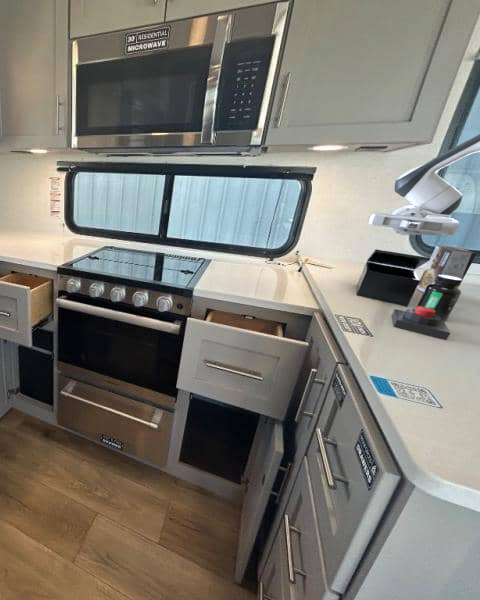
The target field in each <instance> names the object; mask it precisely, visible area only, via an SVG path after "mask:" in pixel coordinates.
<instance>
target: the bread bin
mask: <svg viewBox="0 0 480 600" xmlns="http://www.w3.org/2000/svg"><path fill="white" fill-rule="evenodd" d="M419 282H420V278H419V276H418V274H417V272H416V269H415V270H414V269H408V268H402V267H397V266H391V265H385V264H380V263H374V262H368V261H366V262H365V264H364V267H363V269H362V272H361V274H360V277H359V279H358V281H357V284H356V295H355V296H358V297H362V298H366V299H371V300H375V301H380V302H383V303H388V304H393V305H397V306H401V307H406V308H407V307H408V306H409V304H410V302H411V300H412V298H413V296H414V294H415V292H416V290H417V286H418V284H419Z"/></svg>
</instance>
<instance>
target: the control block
mask: <svg viewBox="0 0 480 600" xmlns="http://www.w3.org/2000/svg"><path fill="white" fill-rule="evenodd" d="M415 309H416V308H407V309H406V310H405V311H404V310H401V309H397V308H394V309H393V311H392V312H391V313H392V314H391V320H392V327H393V328H397V329H400V330H405V331H408V332H411V333H416V334H420V335H423V336H428V337H432V338H436V339H440V340H444V341H447V340H448V338H449V337H450V335H451V331H450V329H449V327H448V325H447V324H446V322H445V320H441V318H440V316H438V315H436V314H434V316H433V317H425V316H421V315H418V314H416V313H414V311H415Z"/></svg>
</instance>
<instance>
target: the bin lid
mask: <svg viewBox="0 0 480 600" xmlns="http://www.w3.org/2000/svg"><path fill="white" fill-rule="evenodd" d="M430 258H431V257H429V256H421V255H414V254H408V253H402V252H395V251H389V250H383V249H374V250H373V252H372V253H371V254H370V256H369V257H368V258H367V259H366V262H372V263H378V264H384V265H390V266H395V267H401V268H407V269H412V270H415V271H416V269H418V268H419V267H421V266H423V265H424V264H426V263H428V262H429V260H430Z"/></svg>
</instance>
